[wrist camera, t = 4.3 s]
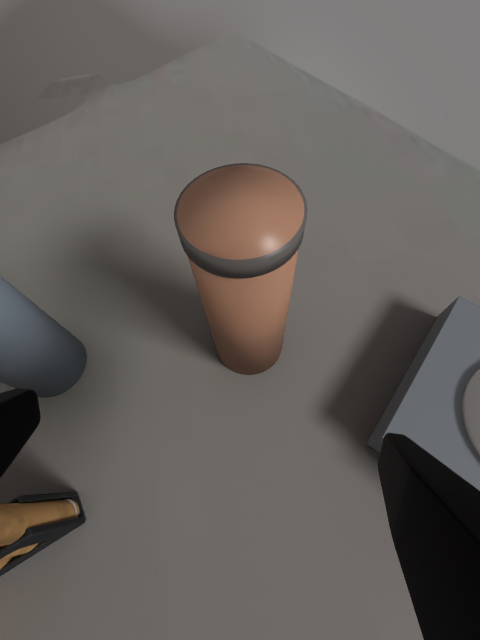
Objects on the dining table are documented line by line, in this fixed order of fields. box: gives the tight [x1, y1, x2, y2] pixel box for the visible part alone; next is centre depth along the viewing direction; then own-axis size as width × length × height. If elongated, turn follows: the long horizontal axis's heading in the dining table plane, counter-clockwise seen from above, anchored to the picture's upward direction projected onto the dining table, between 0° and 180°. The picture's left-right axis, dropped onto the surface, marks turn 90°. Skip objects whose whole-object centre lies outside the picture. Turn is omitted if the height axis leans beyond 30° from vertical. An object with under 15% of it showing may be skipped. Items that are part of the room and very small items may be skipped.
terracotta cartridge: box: [174, 163, 307, 375], centre depth 18 cm, size 5×5×13 cm
